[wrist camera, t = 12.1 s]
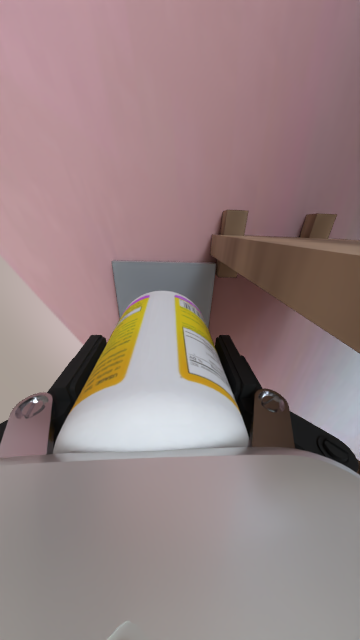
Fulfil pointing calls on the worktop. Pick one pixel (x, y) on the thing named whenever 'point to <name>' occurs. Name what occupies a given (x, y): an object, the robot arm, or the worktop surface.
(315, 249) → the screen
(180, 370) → the supplement bottle
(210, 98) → the worktop surface
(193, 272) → the coaster
